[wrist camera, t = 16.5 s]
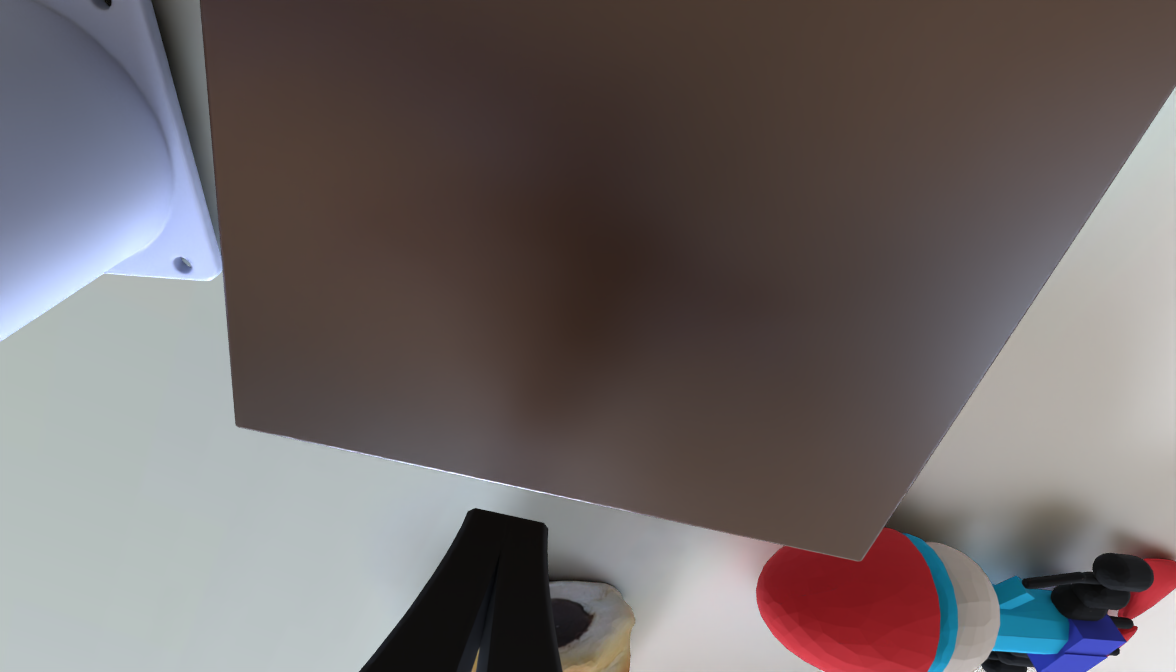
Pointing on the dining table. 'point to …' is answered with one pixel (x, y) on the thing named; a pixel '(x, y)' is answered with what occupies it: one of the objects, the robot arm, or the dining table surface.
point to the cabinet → (658, 232)
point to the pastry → (590, 627)
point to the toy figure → (951, 609)
